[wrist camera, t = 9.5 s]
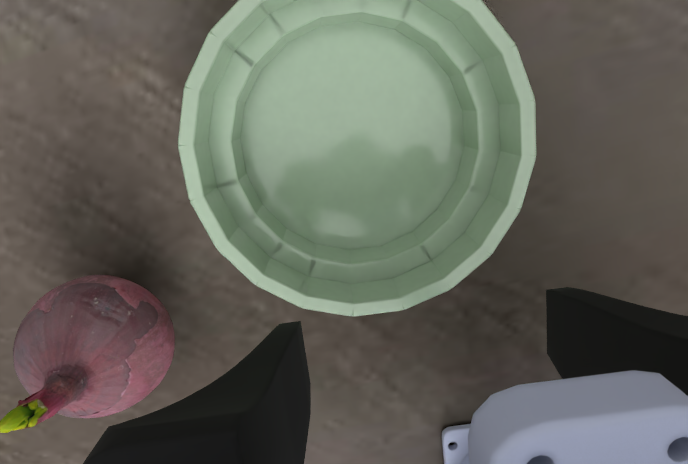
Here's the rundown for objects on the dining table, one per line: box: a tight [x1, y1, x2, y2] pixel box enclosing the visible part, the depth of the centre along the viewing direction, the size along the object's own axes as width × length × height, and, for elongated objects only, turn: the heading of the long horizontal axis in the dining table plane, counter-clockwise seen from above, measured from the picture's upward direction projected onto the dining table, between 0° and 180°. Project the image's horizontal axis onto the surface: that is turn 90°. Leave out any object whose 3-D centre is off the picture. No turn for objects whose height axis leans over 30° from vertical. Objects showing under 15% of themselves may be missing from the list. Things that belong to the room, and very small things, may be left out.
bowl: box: [178, 0, 536, 316], centre depth 20 cm, size 13×13×5 cm
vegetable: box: [0, 275, 175, 433], centre depth 20 cm, size 6×6×10 cm
